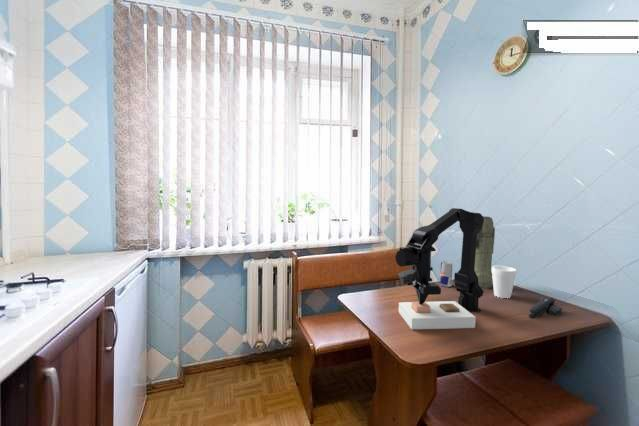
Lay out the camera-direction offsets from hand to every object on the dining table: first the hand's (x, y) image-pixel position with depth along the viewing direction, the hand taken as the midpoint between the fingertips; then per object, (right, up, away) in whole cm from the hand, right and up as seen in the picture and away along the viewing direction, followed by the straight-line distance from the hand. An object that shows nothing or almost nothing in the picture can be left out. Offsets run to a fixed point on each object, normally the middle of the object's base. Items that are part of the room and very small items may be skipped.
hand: (420, 304), depth 107 cm
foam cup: (+46, -4, +24) cm, 52 cm away
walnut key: (+11, -5, +1) cm, 12 cm away
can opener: (+50, -6, +6) cm, 51 cm away
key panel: (+5, -6, +1) cm, 8 cm away
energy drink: (+26, -3, +38) cm, 46 cm away
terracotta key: (0, -4, 0) cm, 4 cm away
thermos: (+44, -3, +38) cm, 58 cm away
